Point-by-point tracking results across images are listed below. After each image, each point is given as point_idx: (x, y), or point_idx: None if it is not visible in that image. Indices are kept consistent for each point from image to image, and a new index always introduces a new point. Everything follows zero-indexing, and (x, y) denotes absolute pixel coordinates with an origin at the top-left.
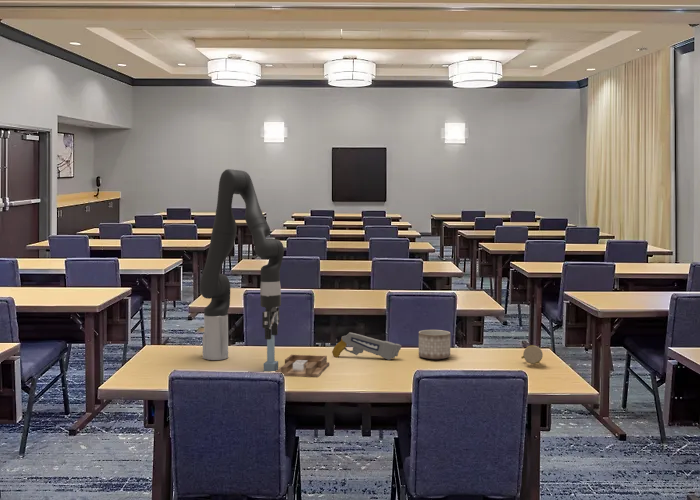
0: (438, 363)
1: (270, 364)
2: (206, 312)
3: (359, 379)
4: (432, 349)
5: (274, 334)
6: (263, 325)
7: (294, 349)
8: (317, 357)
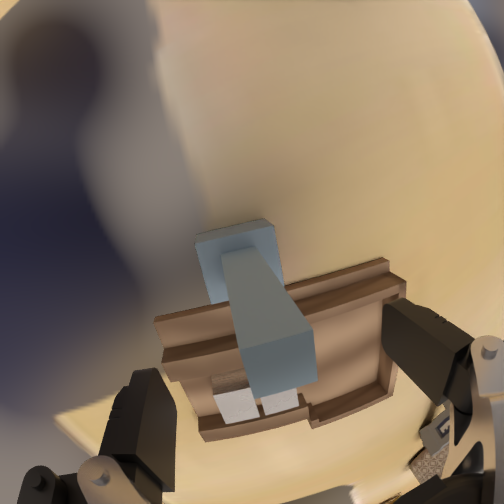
0: (392, 473)
1: (205, 282)
2: None
3: (235, 482)
4: (416, 473)
5: (387, 330)
6: (31, 498)
7: None
8: (387, 374)
